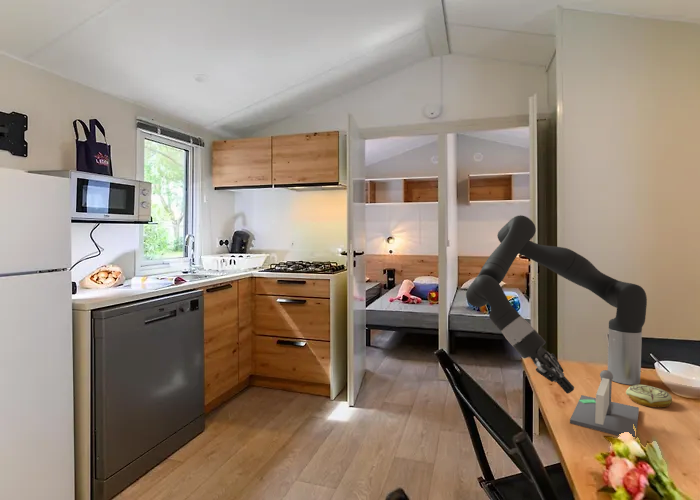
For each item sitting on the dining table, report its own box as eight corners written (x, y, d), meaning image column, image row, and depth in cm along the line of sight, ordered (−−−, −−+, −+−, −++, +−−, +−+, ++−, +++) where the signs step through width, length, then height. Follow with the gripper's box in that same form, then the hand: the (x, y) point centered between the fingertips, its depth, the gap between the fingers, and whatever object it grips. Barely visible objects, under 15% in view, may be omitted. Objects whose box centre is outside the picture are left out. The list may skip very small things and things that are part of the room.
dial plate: (581, 398, 119) (581, 394, 119) (638, 411, 111) (638, 406, 111) (569, 423, 104) (569, 418, 104) (635, 440, 95) (635, 435, 95)
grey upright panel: (602, 400, 115) (603, 361, 115) (614, 402, 113) (616, 363, 113) (591, 433, 96) (592, 386, 95) (606, 437, 94) (607, 389, 94)
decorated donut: (618, 397, 120) (618, 385, 120) (642, 392, 124) (642, 380, 124) (655, 412, 111) (655, 398, 111) (679, 406, 115) (680, 393, 114)
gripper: (518, 339, 117) (564, 390, 110) (505, 349, 106) (554, 407, 99) (538, 324, 113) (587, 376, 106) (526, 333, 103) (579, 391, 96)
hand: (571, 391), depth 103 cm, fingers closed
